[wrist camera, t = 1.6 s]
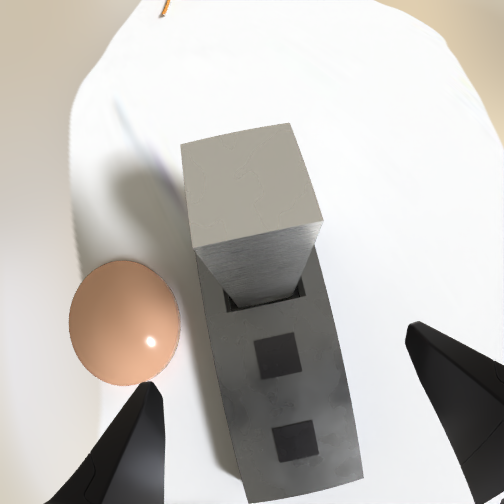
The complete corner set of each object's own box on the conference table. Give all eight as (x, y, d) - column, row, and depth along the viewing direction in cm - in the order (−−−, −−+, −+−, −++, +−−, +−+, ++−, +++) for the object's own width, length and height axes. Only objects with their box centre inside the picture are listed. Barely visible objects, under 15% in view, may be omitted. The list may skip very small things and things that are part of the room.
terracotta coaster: (129, 409, 20) (124, 411, 19) (58, 324, 22) (51, 323, 21) (206, 318, 22) (204, 317, 21) (123, 241, 24) (118, 237, 23)
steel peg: (291, 296, 22) (323, 220, 9) (239, 307, 22) (192, 247, 9) (279, 246, 23) (289, 122, 10) (229, 257, 23) (180, 144, 10)
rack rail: (353, 463, 18) (364, 478, 15) (251, 486, 18) (248, 504, 15) (297, 217, 24) (301, 199, 21) (200, 237, 24) (190, 222, 21)
